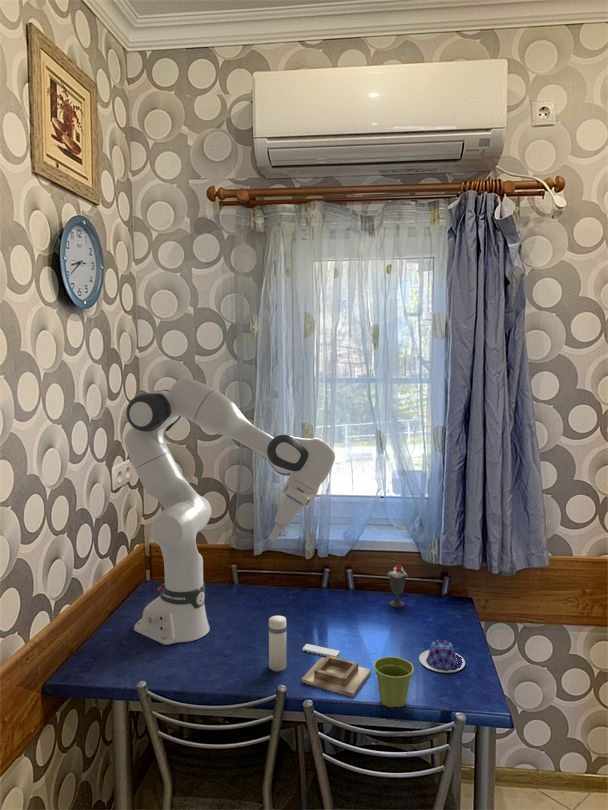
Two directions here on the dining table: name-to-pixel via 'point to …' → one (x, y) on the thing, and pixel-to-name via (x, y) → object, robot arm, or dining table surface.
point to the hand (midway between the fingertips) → (271, 539)
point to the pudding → (441, 657)
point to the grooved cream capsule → (277, 643)
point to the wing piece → (320, 650)
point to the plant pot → (393, 680)
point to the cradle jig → (337, 675)
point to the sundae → (397, 584)
